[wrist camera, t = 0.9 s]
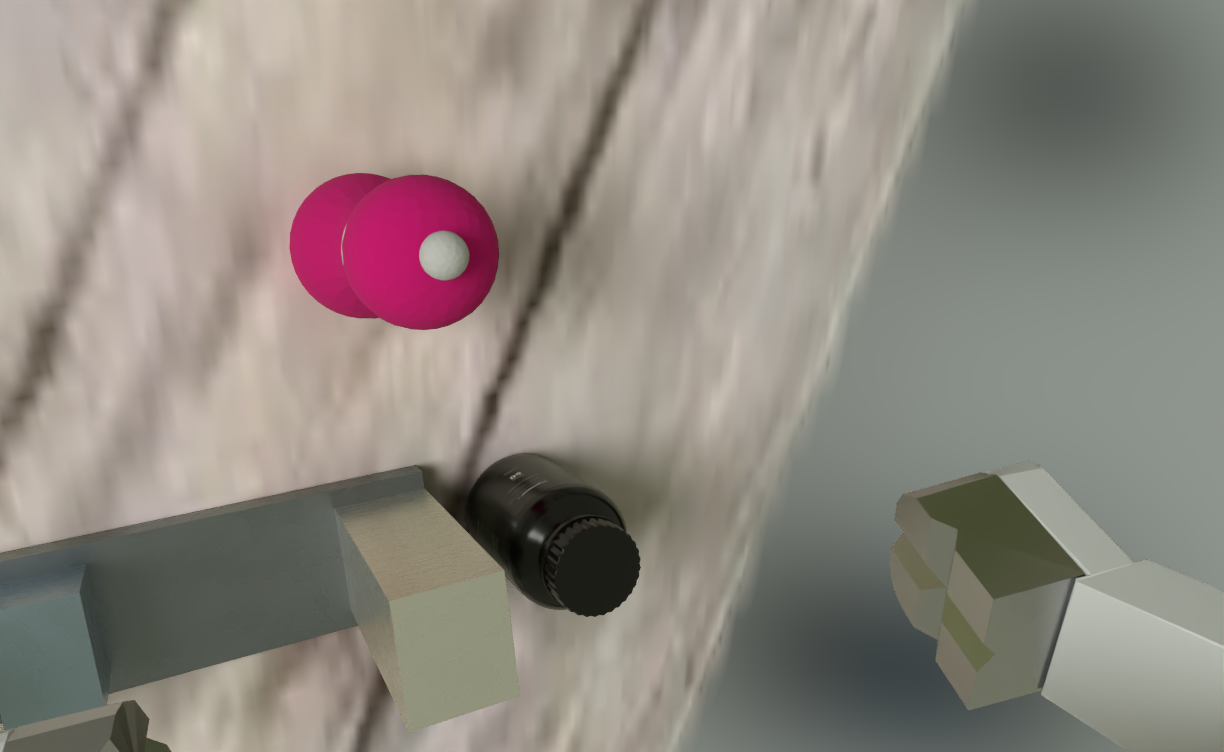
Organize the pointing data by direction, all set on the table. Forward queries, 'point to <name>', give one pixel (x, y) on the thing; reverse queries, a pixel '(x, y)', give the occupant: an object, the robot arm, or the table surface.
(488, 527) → the supplement bottle
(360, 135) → the table surface
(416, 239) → the pepper mill
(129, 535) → the rail
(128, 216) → the table surface
